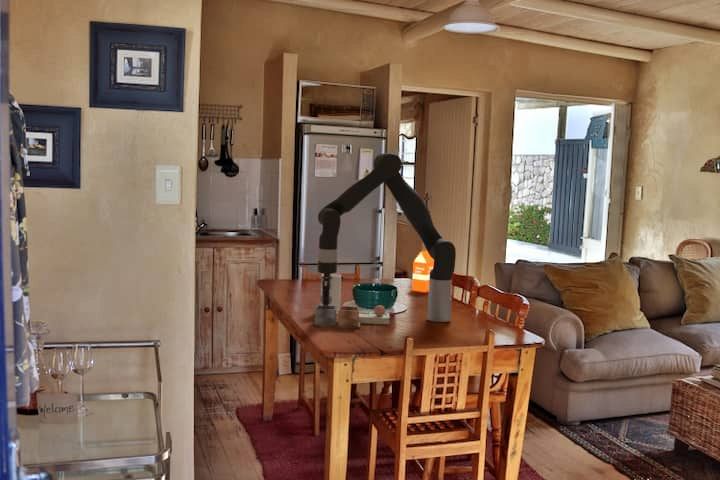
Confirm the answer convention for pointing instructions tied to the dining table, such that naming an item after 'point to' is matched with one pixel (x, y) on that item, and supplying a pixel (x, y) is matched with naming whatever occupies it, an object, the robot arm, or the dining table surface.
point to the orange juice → (422, 271)
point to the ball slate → (329, 299)
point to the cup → (334, 291)
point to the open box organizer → (346, 319)
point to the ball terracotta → (379, 310)
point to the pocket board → (373, 318)
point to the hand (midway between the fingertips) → (326, 303)
